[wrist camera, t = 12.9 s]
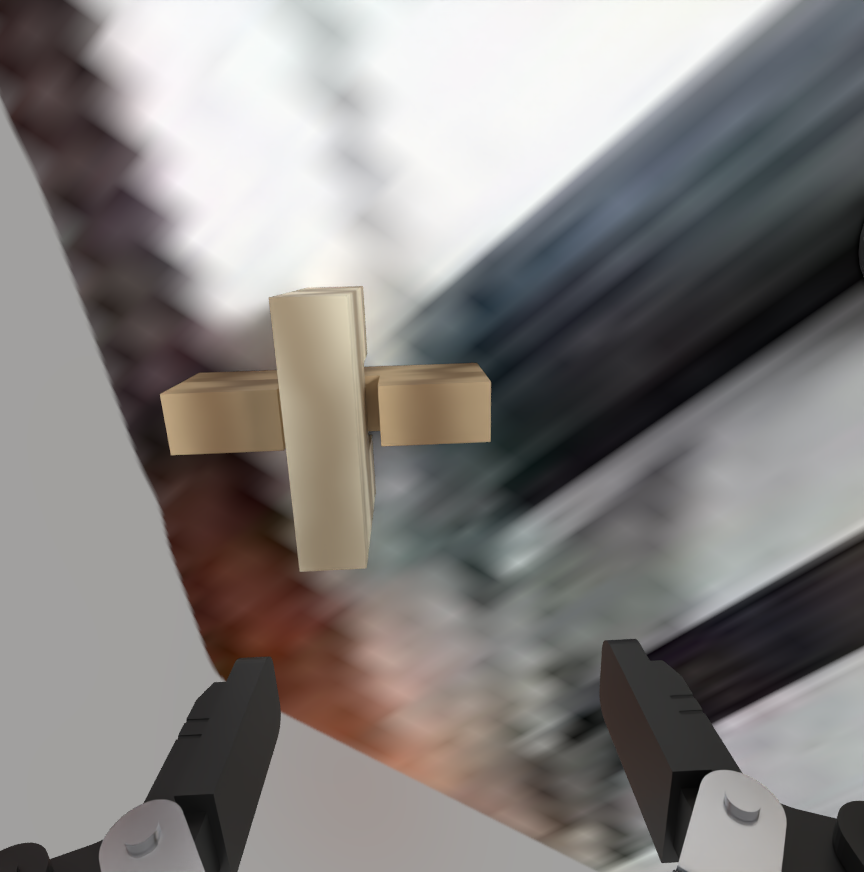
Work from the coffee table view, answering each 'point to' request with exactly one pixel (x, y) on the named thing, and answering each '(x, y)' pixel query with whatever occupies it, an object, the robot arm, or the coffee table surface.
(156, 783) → the robot arm
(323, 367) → the birch slotted plate
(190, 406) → the oak slotted rail
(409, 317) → the coffee table surface
